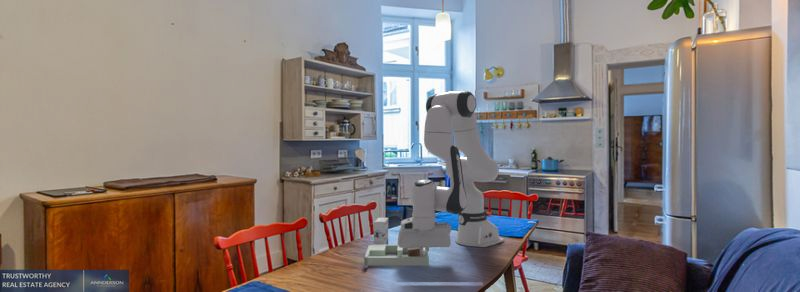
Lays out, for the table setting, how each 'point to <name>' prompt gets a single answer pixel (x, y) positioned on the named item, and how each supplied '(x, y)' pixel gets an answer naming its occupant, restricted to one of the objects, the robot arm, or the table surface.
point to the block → (414, 252)
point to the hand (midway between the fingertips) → (424, 258)
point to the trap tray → (392, 256)
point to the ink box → (381, 231)
